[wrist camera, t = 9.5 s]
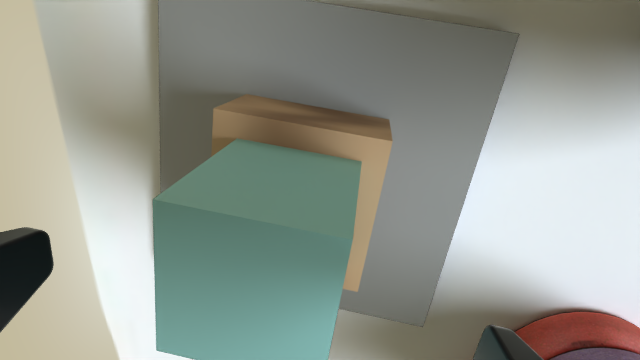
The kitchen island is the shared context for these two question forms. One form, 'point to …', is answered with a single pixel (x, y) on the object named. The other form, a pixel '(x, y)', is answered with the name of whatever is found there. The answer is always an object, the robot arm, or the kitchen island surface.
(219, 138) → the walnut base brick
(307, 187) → the teal brick
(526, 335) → the stacking bear
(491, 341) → the robot arm
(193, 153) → the baseplate
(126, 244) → the kitchen island surface
